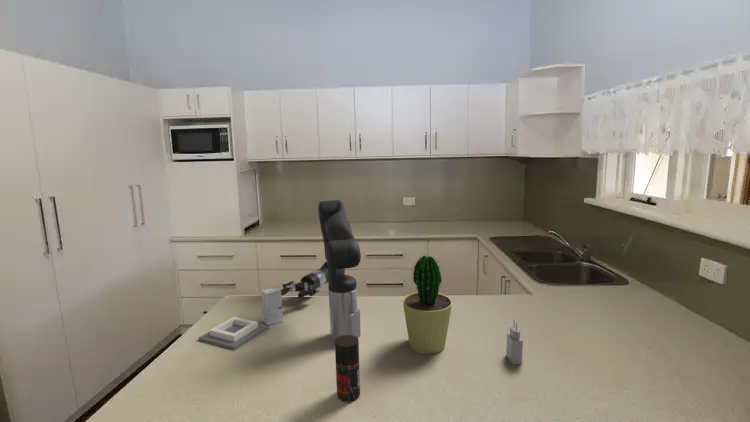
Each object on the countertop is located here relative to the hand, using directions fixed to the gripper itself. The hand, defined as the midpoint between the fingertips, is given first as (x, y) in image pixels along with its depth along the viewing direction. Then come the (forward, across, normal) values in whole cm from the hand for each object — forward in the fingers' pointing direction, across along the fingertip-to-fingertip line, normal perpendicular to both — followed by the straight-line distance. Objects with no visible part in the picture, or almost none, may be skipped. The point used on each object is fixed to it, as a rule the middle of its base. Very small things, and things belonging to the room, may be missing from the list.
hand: (289, 294), depth 150 cm
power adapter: (+2, +83, +7) cm, 83 cm away
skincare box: (+10, 0, +7) cm, 12 cm away
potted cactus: (+4, +57, +7) cm, 58 cm away
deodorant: (+36, +46, +7) cm, 59 cm away
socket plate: (+23, -6, +6) cm, 25 cm away
